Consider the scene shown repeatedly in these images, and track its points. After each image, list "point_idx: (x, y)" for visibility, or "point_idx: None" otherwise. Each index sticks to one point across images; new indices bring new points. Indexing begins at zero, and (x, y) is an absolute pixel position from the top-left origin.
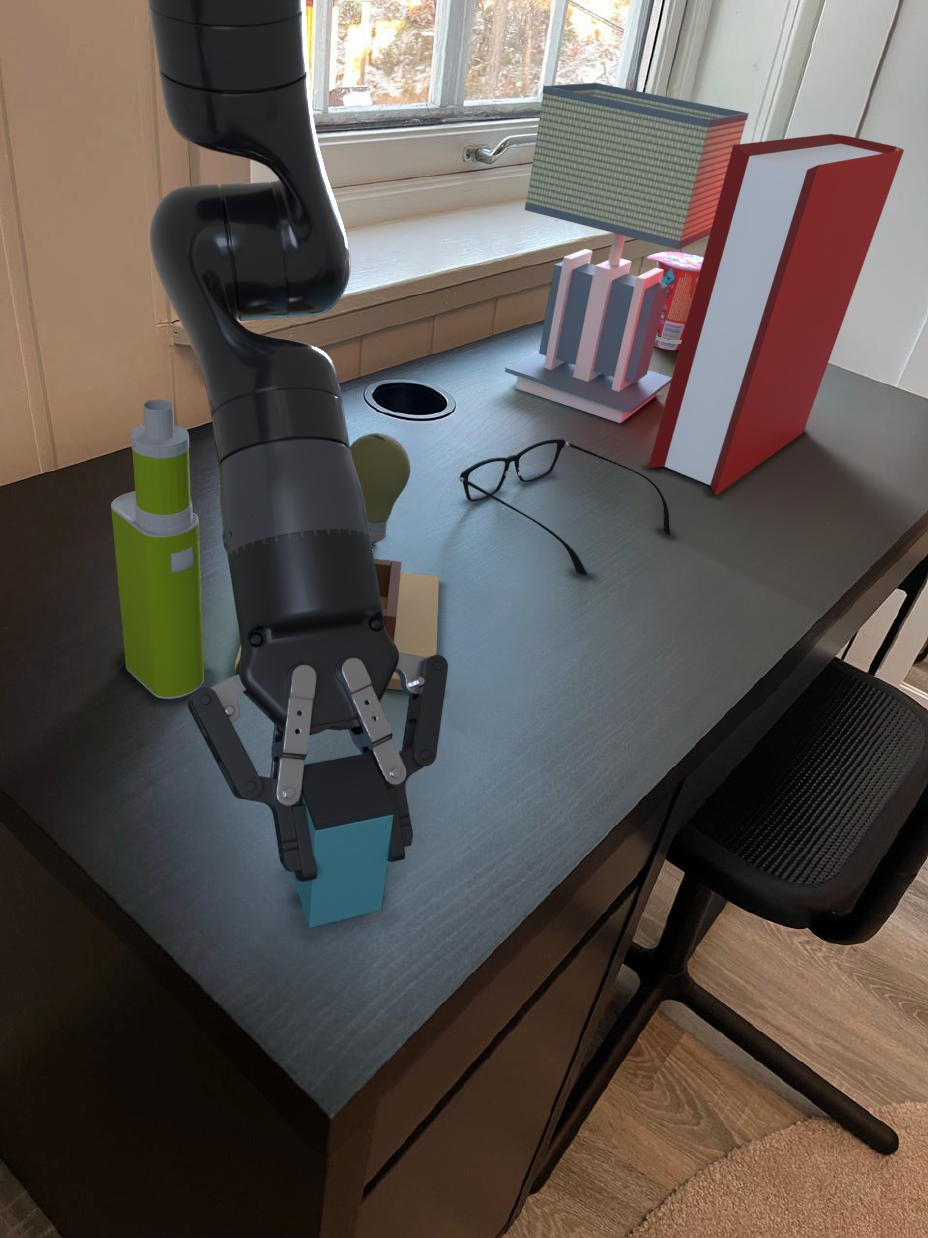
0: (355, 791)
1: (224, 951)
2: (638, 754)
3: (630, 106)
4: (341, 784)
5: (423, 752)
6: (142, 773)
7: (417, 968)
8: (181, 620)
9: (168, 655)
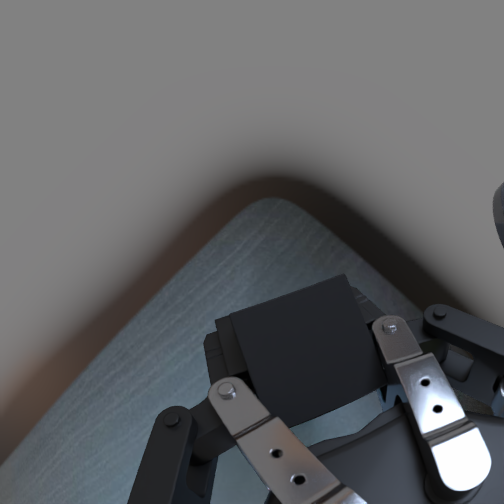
0: (293, 342)
1: (368, 294)
2: (17, 485)
3: None
4: (316, 354)
5: (175, 420)
6: None
7: (208, 286)
8: None
9: None
